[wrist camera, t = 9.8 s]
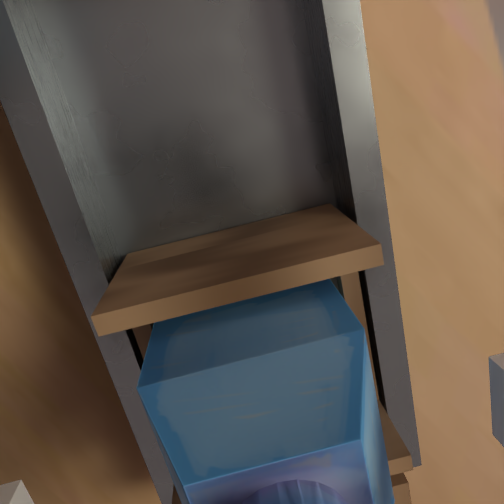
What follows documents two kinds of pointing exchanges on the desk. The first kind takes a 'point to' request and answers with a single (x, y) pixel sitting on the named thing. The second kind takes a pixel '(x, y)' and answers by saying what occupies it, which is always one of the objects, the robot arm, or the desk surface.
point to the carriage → (250, 285)
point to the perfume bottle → (268, 402)
